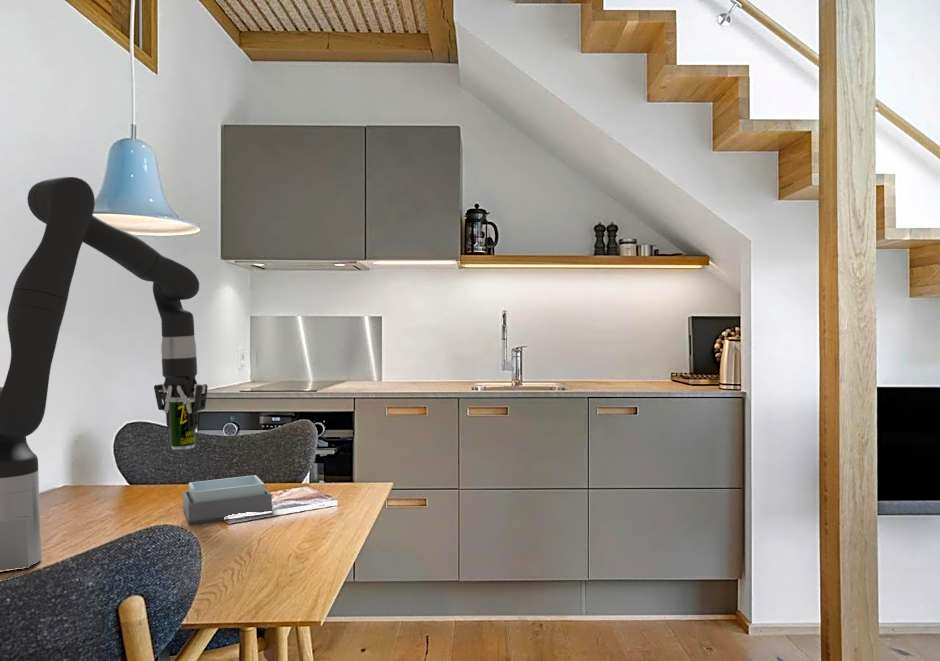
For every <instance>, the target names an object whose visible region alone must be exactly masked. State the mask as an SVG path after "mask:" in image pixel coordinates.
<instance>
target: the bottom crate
mask: <svg viewBox="0 0 940 661" xmlns="http://www.w3.org/2000/svg"><path fill="white" fill-rule="evenodd" d="M272 497H273V495H272V493H271V492H270V491H269V490H268V488H266V487H265V495H257V496H249V497H241V498H233V499H225V500H217V501H209V502H201V503H193V504H191V503H190V500H189V490H187V491H182V507H183V508H182V509H183V514H184V516H185V518H186V521H187V524H188V525H189V526H193V525H199V524H205V523H206V524H207V523H213V522H219V521H220V522H221V521H225V520H224V517H225V516H228V515H232V514H238V513H246V512H264V511H272V512H273V500H272V499H273V498H272Z"/></svg>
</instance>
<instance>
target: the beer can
mask: <svg viewBox="0 0 940 661" xmlns="http://www.w3.org/2000/svg"><path fill="white" fill-rule="evenodd" d="M181 398H182V397H170V400H169V420H170V429H169V439H170V441H169V442H170V447H171V449H172V450H175V451H179V450H180V451H181V450H190V449H193V448H194V447H195V445H196V429H193V430H189V429H188V416H187V414H189V413H188V411H187V408H186V405H184V404H183V401H182V399H181ZM187 399H189V400H190V399H192V396H191V398H190V397H188V398H187ZM191 406H192V403H191Z"/></svg>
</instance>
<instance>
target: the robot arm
mask: <svg viewBox="0 0 940 661" xmlns="http://www.w3.org/2000/svg"><path fill="white" fill-rule="evenodd" d="M26 199H27V204H28V208H29V210H30V211H31V214H33V216H34V217H36V219H37V220H39V221H40V222H42V223H43V224H46V225H45V229H44V232H43V236H42V239H41V240H40V243H39V245H38V247H36V249H35V251H34V253H33V254H32V255H31V257H30V258H29V260H28V261H27V263H25V265H24V267H23V268H22V269H21V271H20V273H19V275H18V277H17V279H16V281H15V283H14V285H13V289H12V293H11V298H10V302H9V306H8V310H7V319H6V320H7V321H6V322H7V323H6V324H7V332H8V338H9V343H10V345H9V346H10V362H9V367H8V371H7V375H6V378H5V381H4V384H3V386H0V570H6V569H15V568H23V567H26V568H28V567H30V566H31V565H33V564H36V563H38V562H39V561H40V562H42V560H41V559H43V558H42V538H41V537H42V536H41V535H42V534H41V512H40V511H41V510H40V488H39V487H40V481H39V479H40V478H39V460H38V456H37V454H35V452H33V450H32V449H31V448H30V446H29V444H28V441H27V437H28V436H30V435H31V434H33V433H35V432H36V430H38V428H39V427H40V425H41V424H42V421H43V419H44V416H45V412H46V407H47V401H48V400H47V398H48V391H49V382H50V376H51V375H50V374H51V369H52V367H51V366H52V364H53V360H54V359H53V358H54V356H55V355H54V354H55V350H56V346H57V342H58V338H59V333H60V329H61V325H62V322H63V319H64V317H65V316H64V315H65V311H66V308H67V303H68V299H69V293H70V289H71V284H72V281H73V277H74V273H75V269H76V266H77V262H78V258H79V253H80V250H81V247H82V245H83V244H85V245H88V246H89V247H91V248H93V249H94V250H96V251H98V252H99V253H101V254H102V255H104V256H106V257H108V258H109V259H110V260H113V262H114V263H117V264H118V265H119V266H121V267H123V268H124V269H125V270H127V271H128V272H130V273H131V274H132V275H134V276H135V277H137V278H139V279H140V280H142V281H145V282H151V283H152V293H153V297H154V301H155V304H156V307H157V311H158V314H159V317H160V319H161V324H160V325H161V346H160V347H161V348H160V349H161V350H160V351H161V352H160V353H161V368H162V370H161V371H162V372H161V373H162V377H163V378H164V382H163V383H159V384H155V385H154V387H153V390H154V394H155V399H156V404H157V409H158V410H159V411H162V412H163V411H164V413H165V416H166V419H165V420H166V426H167V429H168V430H170V420H169V400H170V397H182V398H181V399H182V401H183V404H184V405H186V408H187V411H188V413H189V414H187V416H188V429H189V430H193V429H195V430H196V429H198V426H199V412H200V411H202V410H205V409H206V404H207V394H208V387H209V386H208V384H206V383H205V384H200V383H198V382H197V379H196V376H197V375H198V362H197V344H196V343H197V342H196V339H195V320H194V315H193V312H190V311H189V310H185V309H184V308H183V305H182V301H185V300H189V299H193V298H194V297H196V295H197V294H198V292H199V290H200V282H199V279H198V278H199V277H197V275H196V274H195V273H194V271H193V270H191V269H190V268H188V267H187V266H185V265H183V264H182V263H179V262H177V261H175V260H173V259H171V258H170V257H167V256H165V255H162V254H161V253H160V252H158V251H157V250H156V249H155V248H153V247H152V246H150V245H149V244H148V243H146V242H145V241H143V240H142V239H141V238H139V237H138V236H136V235H133V234H132V233H130V232H128V231H125V230H123V229H121V228H118V227H116V226H113V225H112V224H109V223H108V222H106V221H103V220H102V219H100V218H98V217H96V216H94V211H95V204H96V203H95V201H96V200H95V199H96V198H95V195H94V191H93V189H92V187H91V186H90V184H89V183H88V182H87V181H86V180H85V179H83V178H81V177H78V176H61V177H60V176H59V177H55V178H49V179H45V180H41V181H39V182H37V183H35V184H34V185H33V186H32V187H30V189H29V190H28V193H27V198H26ZM191 396H192V399H190V400H189V399H187V398H188V397H190V398H191ZM191 403H192V406H191ZM40 562H39V563H40ZM39 563H38V564H39ZM36 565H37V564H36ZM33 566H34V565H33ZM31 567H32V566H31Z"/></svg>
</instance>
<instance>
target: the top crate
mask: <svg viewBox="0 0 940 661" xmlns="http://www.w3.org/2000/svg"><path fill="white" fill-rule="evenodd" d="M265 488H266V487H265V483H264V482H263V481H262V479H260V478H259V477H258V476H257V475H256V474H254V475H245V476H237V477H236V476H235V477H226V478H220V479H218V478H217V479H210V480H209V479H208V480H200V481H191V482H188V491H189V500H190V503H191V504H193V503H201V502H209V501H217V500H225V499H233V498H241V497H249V496H257V495H265Z"/></svg>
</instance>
